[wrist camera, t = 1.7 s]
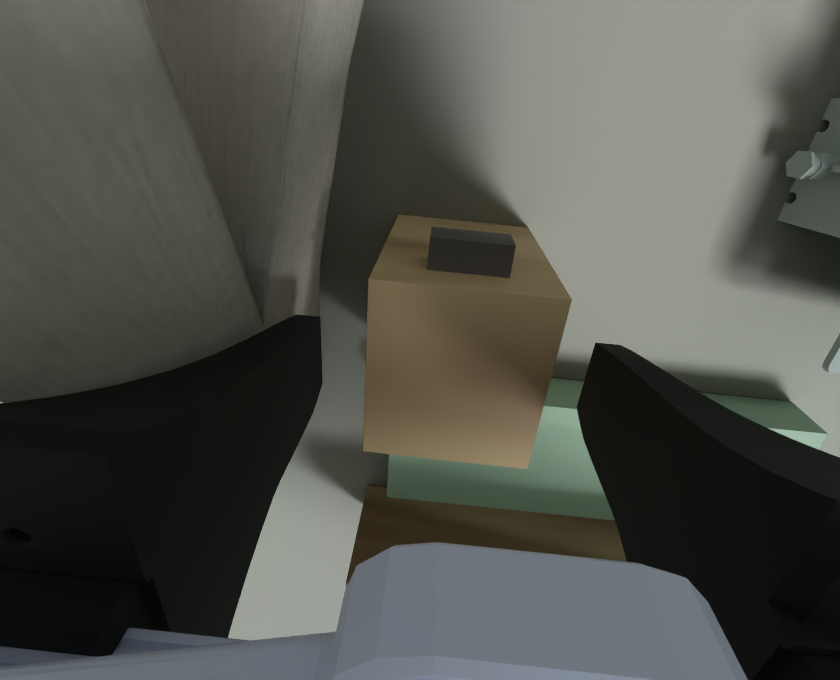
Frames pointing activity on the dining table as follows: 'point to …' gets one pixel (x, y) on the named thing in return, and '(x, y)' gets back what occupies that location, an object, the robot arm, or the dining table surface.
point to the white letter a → (160, 179)
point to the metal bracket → (818, 193)
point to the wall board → (477, 529)
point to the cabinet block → (460, 341)
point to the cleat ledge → (560, 461)
